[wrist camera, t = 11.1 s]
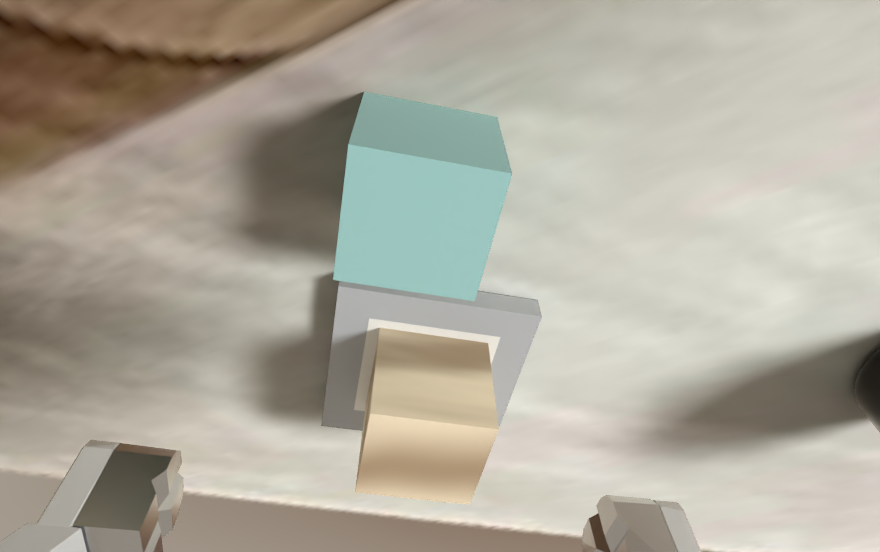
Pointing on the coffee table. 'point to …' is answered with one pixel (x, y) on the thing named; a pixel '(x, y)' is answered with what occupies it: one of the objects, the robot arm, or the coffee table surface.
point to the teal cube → (420, 197)
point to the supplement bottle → (869, 389)
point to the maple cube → (427, 418)
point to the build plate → (374, 307)
